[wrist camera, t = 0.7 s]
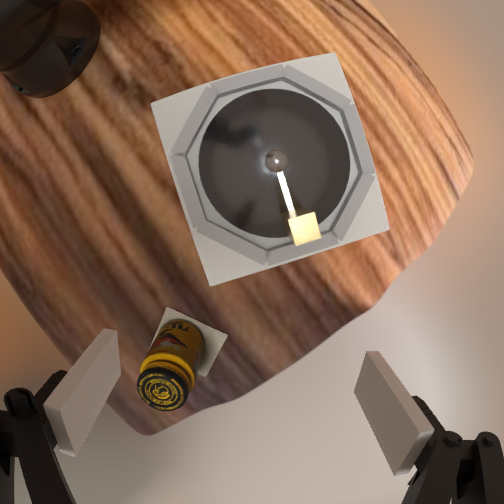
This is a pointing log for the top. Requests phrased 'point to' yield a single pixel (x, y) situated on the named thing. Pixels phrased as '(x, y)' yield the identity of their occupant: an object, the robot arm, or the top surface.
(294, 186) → the dial
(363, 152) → the dial base
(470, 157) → the top surface
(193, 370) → the condiment
